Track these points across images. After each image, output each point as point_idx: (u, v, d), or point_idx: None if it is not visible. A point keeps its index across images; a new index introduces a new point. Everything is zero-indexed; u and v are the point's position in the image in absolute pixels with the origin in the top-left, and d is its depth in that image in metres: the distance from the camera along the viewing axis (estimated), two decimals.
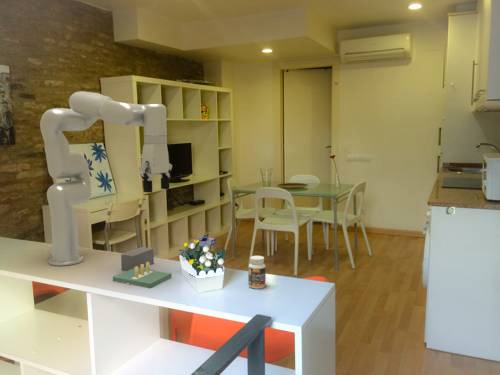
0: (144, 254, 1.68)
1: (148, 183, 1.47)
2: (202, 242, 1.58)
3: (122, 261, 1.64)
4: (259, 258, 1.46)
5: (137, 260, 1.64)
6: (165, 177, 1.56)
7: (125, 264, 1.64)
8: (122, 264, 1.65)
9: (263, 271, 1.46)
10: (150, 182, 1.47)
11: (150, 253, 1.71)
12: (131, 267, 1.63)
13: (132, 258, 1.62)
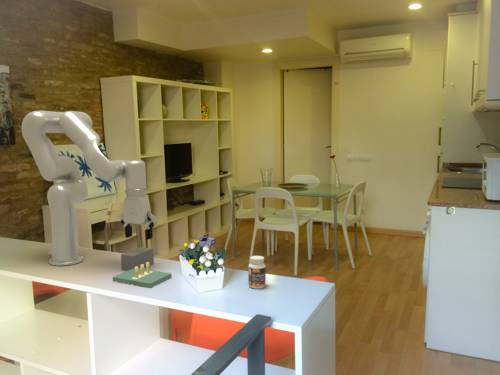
0: (144, 254, 1.68)
1: None
2: (202, 242, 1.58)
3: (122, 261, 1.64)
4: (259, 258, 1.46)
5: (137, 260, 1.64)
6: (129, 226, 1.70)
7: (125, 264, 1.64)
8: (122, 264, 1.65)
9: (263, 271, 1.46)
10: None
11: (150, 253, 1.71)
12: (131, 267, 1.63)
13: (132, 258, 1.62)
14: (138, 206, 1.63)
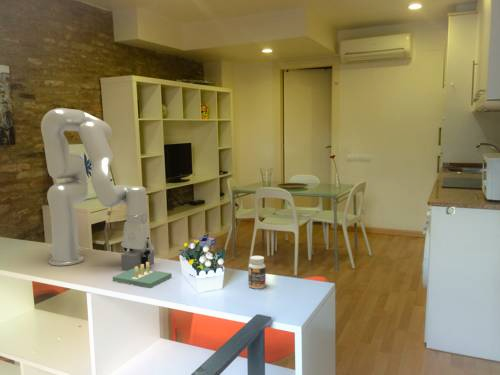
0: None
1: None
2: (202, 242, 1.58)
3: (122, 261, 1.64)
4: (259, 258, 1.46)
5: (137, 260, 1.64)
6: None
7: (126, 264, 1.64)
8: (122, 264, 1.65)
9: (263, 271, 1.46)
10: (147, 257, 1.69)
11: (150, 253, 1.71)
12: (131, 267, 1.63)
13: (132, 258, 1.62)
14: (138, 232, 1.64)
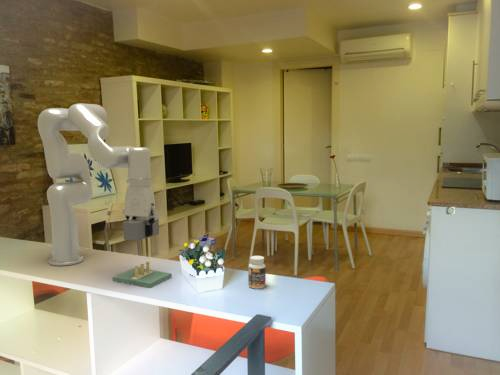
0: None
1: None
2: (202, 242, 1.58)
3: (124, 229, 1.49)
4: (259, 258, 1.46)
5: (141, 228, 1.49)
6: None
7: (128, 233, 1.48)
8: (124, 233, 1.49)
9: (263, 271, 1.46)
10: None
11: (155, 222, 1.56)
12: (134, 236, 1.47)
13: (135, 226, 1.47)
14: (141, 197, 1.48)
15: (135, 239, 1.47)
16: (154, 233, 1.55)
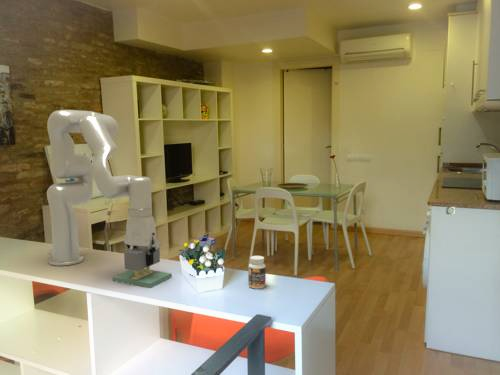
0: None
1: None
2: (202, 242, 1.58)
3: (125, 259, 1.49)
4: (259, 258, 1.46)
5: (142, 258, 1.49)
6: None
7: (129, 262, 1.49)
8: (125, 262, 1.49)
9: (263, 271, 1.46)
10: None
11: (156, 250, 1.56)
12: (135, 266, 1.48)
13: (136, 256, 1.47)
14: (142, 227, 1.49)
15: (136, 269, 1.48)
16: (155, 261, 1.56)
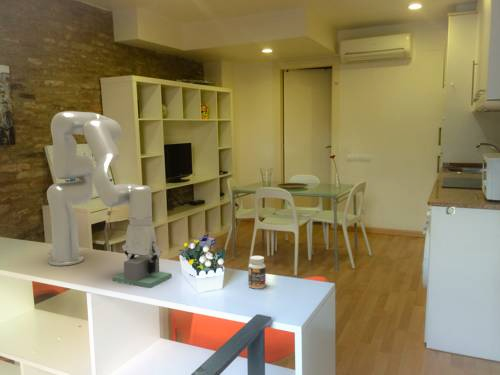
0: (149, 261, 1.53)
1: None
2: (202, 242, 1.58)
3: (125, 269, 1.50)
4: (259, 258, 1.46)
5: (141, 268, 1.50)
6: (134, 257, 1.56)
7: (129, 272, 1.49)
8: (125, 272, 1.50)
9: (263, 271, 1.46)
10: None
11: None
12: (135, 276, 1.48)
13: (136, 266, 1.48)
14: (142, 236, 1.49)
15: (135, 279, 1.48)
16: None
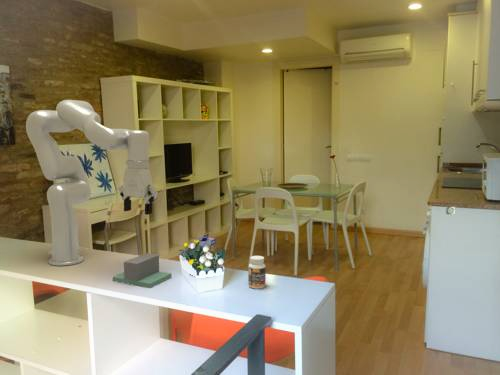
0: (149, 261, 1.53)
1: None
2: (202, 242, 1.58)
3: (125, 269, 1.50)
4: (259, 258, 1.46)
5: (141, 268, 1.50)
6: (129, 199, 1.61)
7: (129, 272, 1.49)
8: (125, 272, 1.50)
9: (263, 271, 1.46)
10: (151, 204, 1.58)
11: (155, 260, 1.57)
12: (135, 276, 1.48)
13: (136, 266, 1.48)
14: (139, 179, 1.54)
15: (135, 279, 1.48)
16: (154, 271, 1.56)
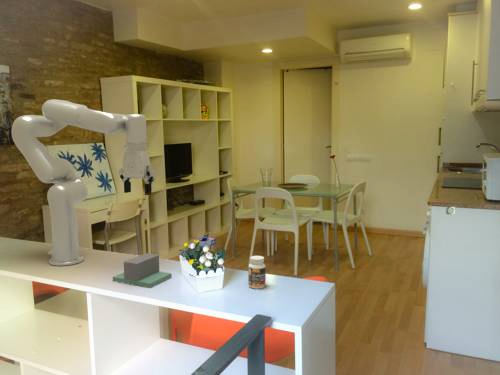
0: (149, 261, 1.53)
1: None
2: (202, 242, 1.58)
3: (125, 269, 1.50)
4: (259, 258, 1.46)
5: (141, 268, 1.50)
6: (128, 181, 1.69)
7: (129, 272, 1.49)
8: (125, 272, 1.50)
9: (263, 271, 1.46)
10: (150, 184, 1.65)
11: (155, 260, 1.57)
12: (135, 276, 1.48)
13: (136, 266, 1.48)
14: (138, 160, 1.62)
15: (135, 279, 1.48)
16: (154, 271, 1.56)
